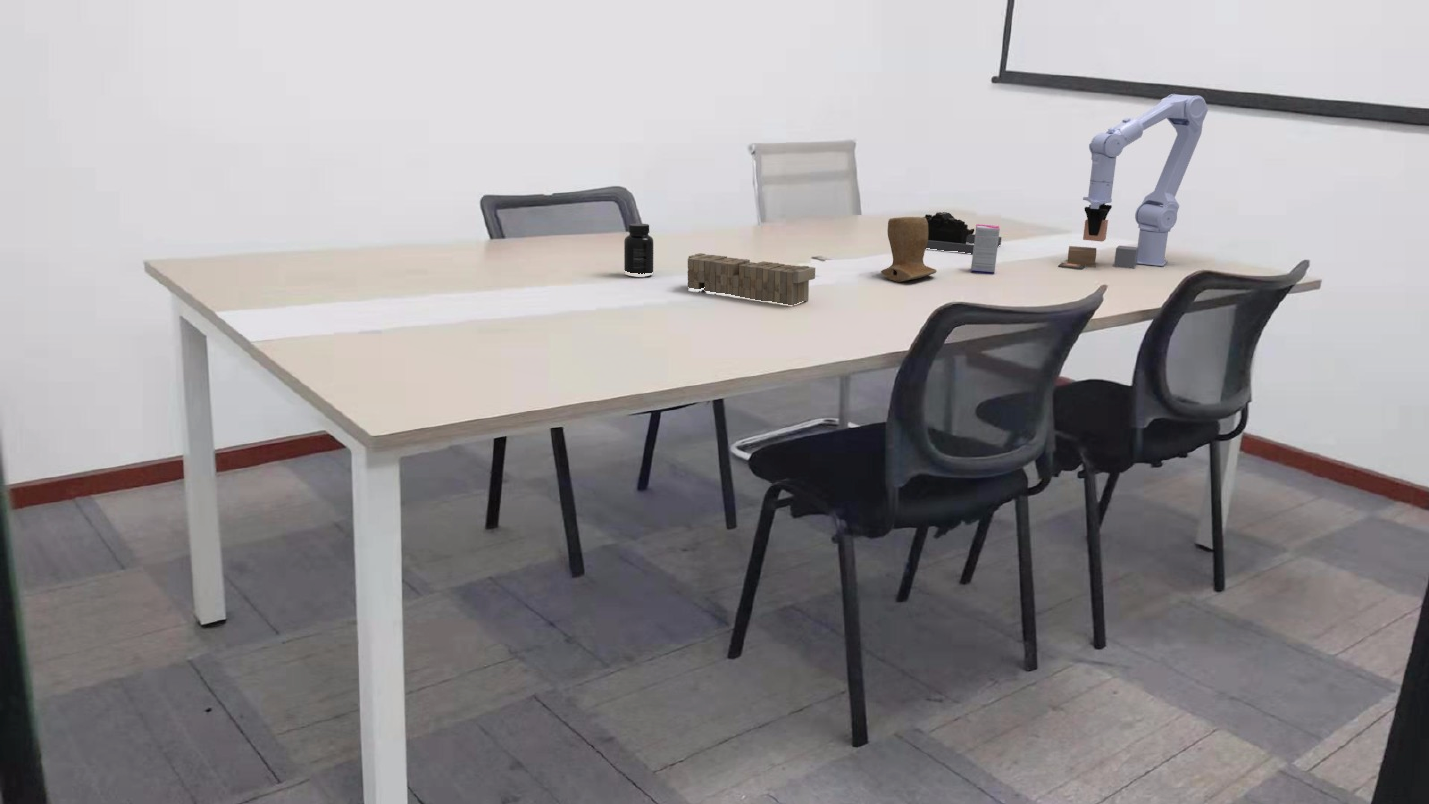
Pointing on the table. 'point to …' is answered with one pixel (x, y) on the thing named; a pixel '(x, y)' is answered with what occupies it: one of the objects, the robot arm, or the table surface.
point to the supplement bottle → (638, 249)
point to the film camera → (947, 228)
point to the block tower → (750, 278)
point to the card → (1071, 266)
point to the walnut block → (1082, 255)
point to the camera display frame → (955, 245)
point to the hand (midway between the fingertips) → (1095, 233)
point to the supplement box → (985, 249)
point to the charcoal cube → (1126, 257)
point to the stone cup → (907, 248)
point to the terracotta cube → (1101, 233)
